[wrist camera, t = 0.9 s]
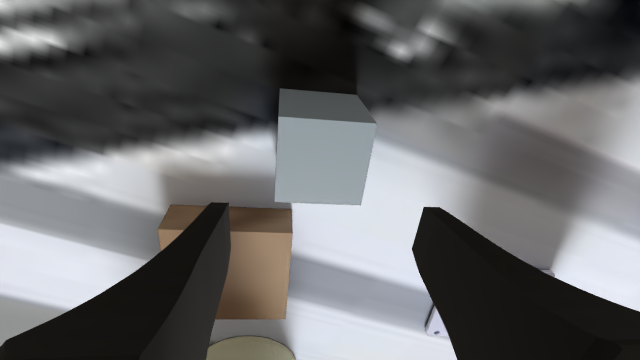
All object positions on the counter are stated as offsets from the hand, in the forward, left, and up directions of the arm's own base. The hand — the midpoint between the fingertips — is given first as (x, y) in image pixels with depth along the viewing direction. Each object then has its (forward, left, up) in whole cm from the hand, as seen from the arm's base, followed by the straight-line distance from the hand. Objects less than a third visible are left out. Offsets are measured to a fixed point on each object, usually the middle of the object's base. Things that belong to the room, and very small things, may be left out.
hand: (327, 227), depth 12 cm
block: (0, 0, -10) cm, 10 cm away
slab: (+5, +10, -10) cm, 15 cm away
